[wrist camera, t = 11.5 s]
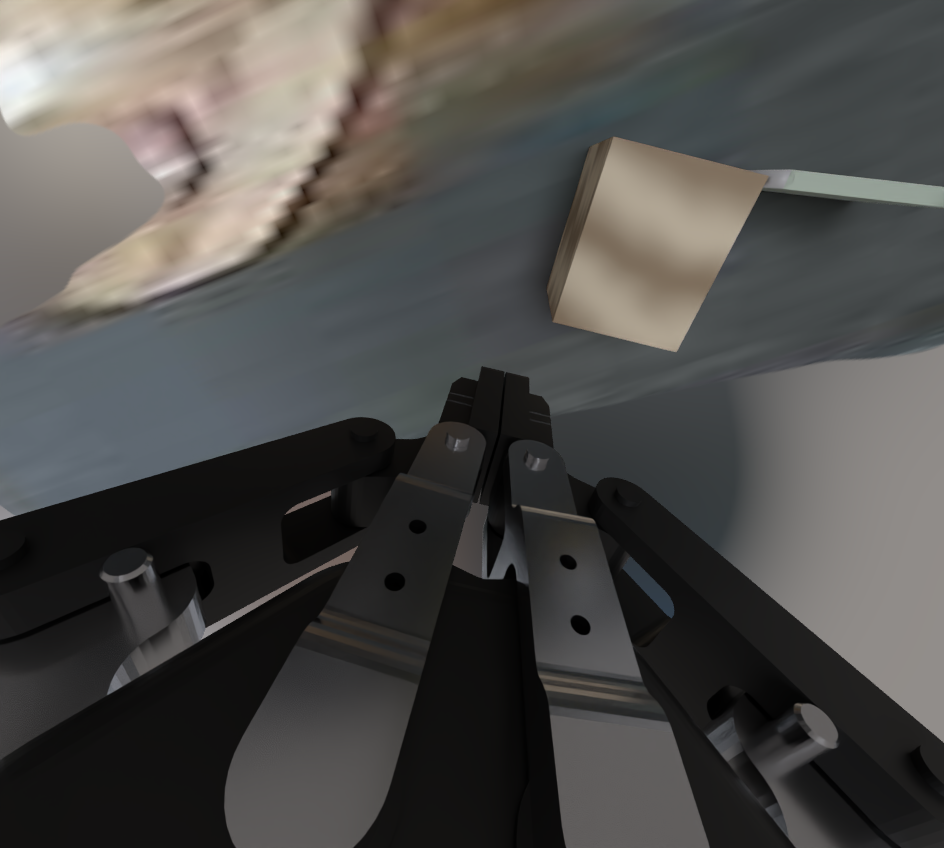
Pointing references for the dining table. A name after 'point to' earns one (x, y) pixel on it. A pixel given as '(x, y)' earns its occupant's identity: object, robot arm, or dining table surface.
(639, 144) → the birch box
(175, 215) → the dining table surface
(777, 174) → the grey-green rectangular panel
